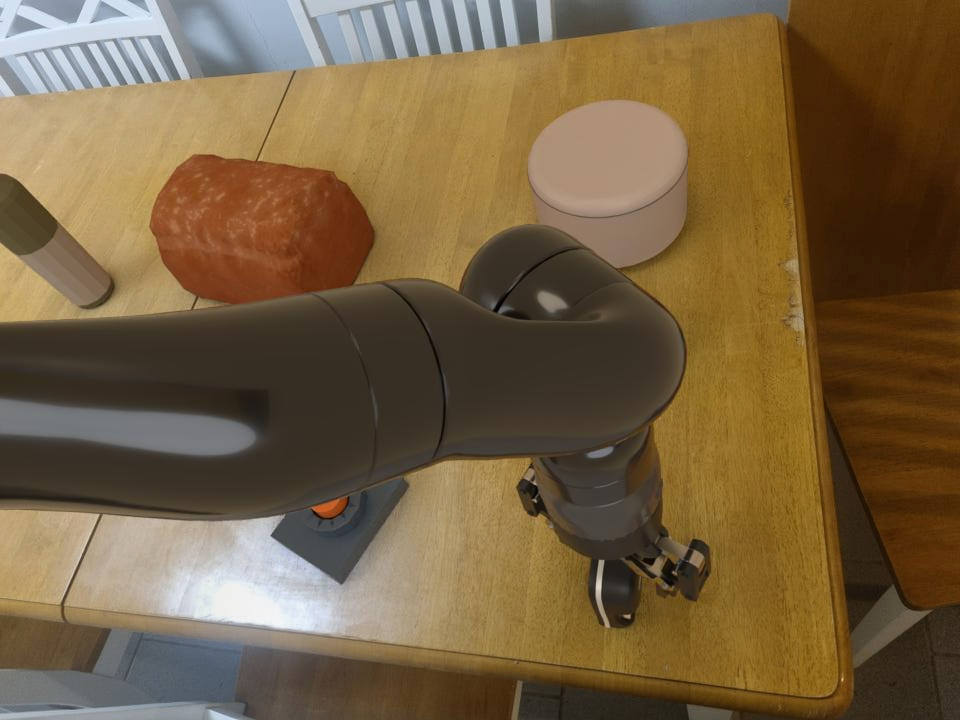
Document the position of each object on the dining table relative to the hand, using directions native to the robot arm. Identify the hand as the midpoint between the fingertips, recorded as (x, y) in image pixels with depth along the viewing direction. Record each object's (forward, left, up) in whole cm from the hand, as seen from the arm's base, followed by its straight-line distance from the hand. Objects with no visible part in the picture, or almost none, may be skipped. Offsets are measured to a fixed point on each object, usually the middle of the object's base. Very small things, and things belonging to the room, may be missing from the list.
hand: (617, 559), depth 59 cm
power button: (-7, +29, -6) cm, 30 cm away
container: (+40, +22, -10) cm, 47 cm away
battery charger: (0, 0, -10) cm, 10 cm away
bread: (+17, +60, -10) cm, 63 cm away
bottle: (+1, +84, -10) cm, 85 cm away
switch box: (-7, +29, -10) cm, 31 cm away
